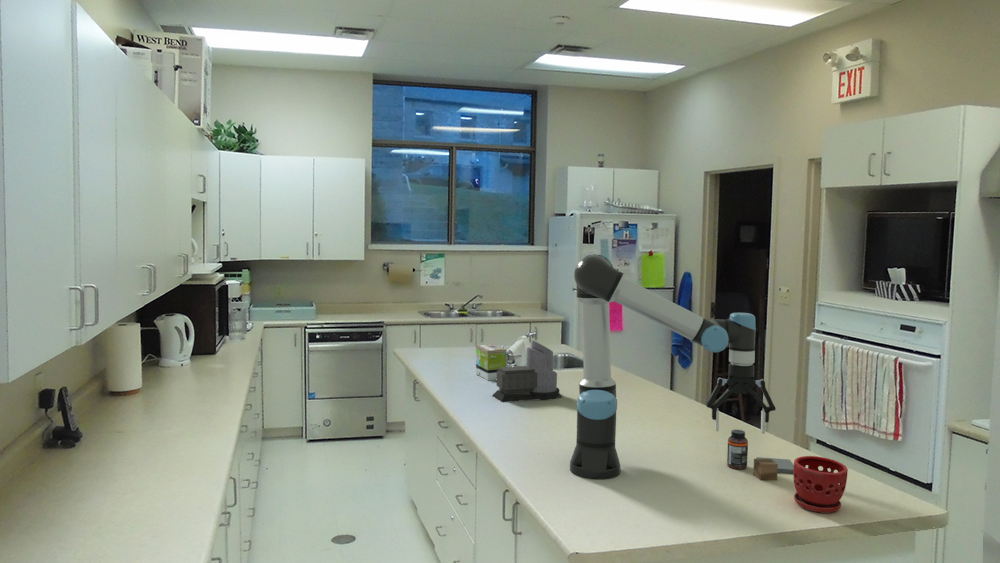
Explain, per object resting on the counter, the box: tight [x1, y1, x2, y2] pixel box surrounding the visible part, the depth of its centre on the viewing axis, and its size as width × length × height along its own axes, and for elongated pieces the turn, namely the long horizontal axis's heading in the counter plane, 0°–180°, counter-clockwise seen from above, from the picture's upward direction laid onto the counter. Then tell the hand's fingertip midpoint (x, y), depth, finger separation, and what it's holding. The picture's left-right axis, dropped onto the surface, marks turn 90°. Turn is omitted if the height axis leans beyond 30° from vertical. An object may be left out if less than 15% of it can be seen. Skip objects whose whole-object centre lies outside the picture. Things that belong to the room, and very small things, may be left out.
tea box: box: [475, 343, 507, 381], centre depth 350 cm, size 15×10×15 cm, turn 25°
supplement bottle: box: [726, 429, 749, 470], centre depth 224 cm, size 6×6×11 cm
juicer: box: [491, 340, 563, 403], centre depth 311 cm, size 30×16×24 cm, turn 111°
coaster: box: [756, 456, 794, 475], centre depth 225 cm, size 10×10×1 cm
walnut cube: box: [753, 458, 778, 481], centre depth 216 cm, size 5×5×5 cm
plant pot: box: [792, 455, 849, 514], centre depth 193 cm, size 13×13×12 cm
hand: (739, 431), depth 224 cm, fingers open, 13 cm apart
